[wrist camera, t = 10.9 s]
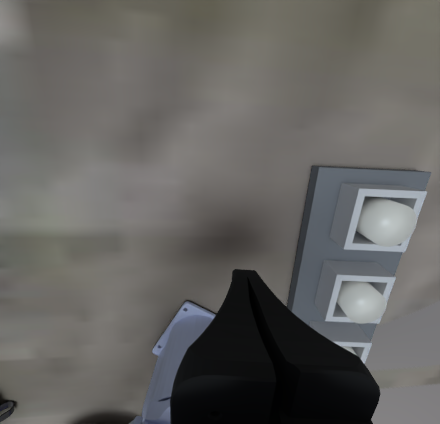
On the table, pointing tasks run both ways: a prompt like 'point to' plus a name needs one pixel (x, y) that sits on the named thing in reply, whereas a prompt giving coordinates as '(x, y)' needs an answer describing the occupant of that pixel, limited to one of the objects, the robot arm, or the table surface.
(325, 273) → the control panel
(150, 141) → the table surface
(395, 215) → the knob
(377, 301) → the knob mid
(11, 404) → the coffee press
